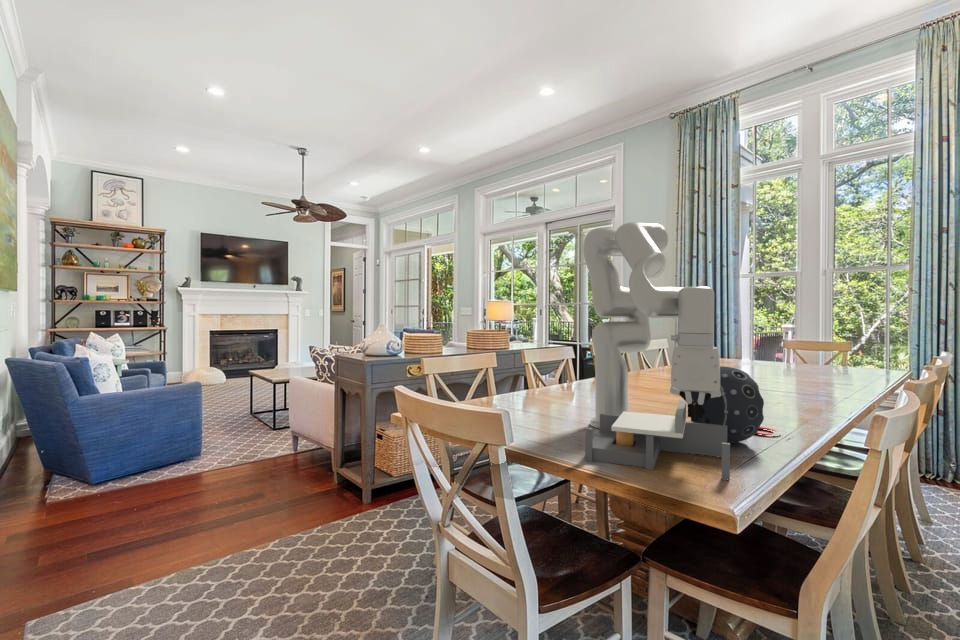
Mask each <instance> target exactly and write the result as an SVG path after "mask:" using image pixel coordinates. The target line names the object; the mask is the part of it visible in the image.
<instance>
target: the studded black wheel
mask: <svg viewBox="0 0 960 640" xmlns="http://www.w3.org/2000/svg"><path fill="white" fill-rule="evenodd" d="M720 391H721V396H720V397H714V398H709V399H708V400H707V401H706V402H704V403H703V404H702V418H699V422H696V421H695V420H694V421H693V422H694V423H705V424H715V425H726V426H727V443H730V444H733V443H739V442H743V441H747V440H749V439H750V438H752V437H754V436H756V435H755V434H756V433H757V432H759V430H758V429H759V427H760V426H761V425H762V424H763V421H764V419H765V416H764V405H765V403H764V398H763V396H762V395H761V393H760V386H759V384H758V382H756V381H755V379H753V378H752V377H751V376H750V374H749V373H747V372H746V371H743V370H741V369H739V368H735V367H731V366H724V365H723V366H721V365H720ZM705 393H706V392H705ZM691 394H692V399H693V400H694V403H696V400H698V396H699V392H694V391H691Z"/></svg>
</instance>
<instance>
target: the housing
mask: <svg viewBox="0 0 960 640" xmlns="http://www.w3.org/2000/svg"><path fill="white" fill-rule="evenodd" d="M618 418H619V415H609V414H600V429H599V432H598V433H597V434H596V435H595V436H594V427H586V428H585V429H584V430H585V439H584V440H585V443H584V444H585V451H584V452H585V454H584V455H585V458H584V459H585V461H586V462H590V463H591V462H593V461H595V462H603V463H609V464H610V463H611V464H617V465H622V464H623V465H624V466H630V465H631V467H637V466H638V467H639V468H644V467H645V470H648V471H654V469H655V466H656V463H657V460H658V457H659V454H660V451H662V450H663V451H664V452H672V453H679V452H680V453H679V454H687V453H690V454H689V455H695V454H701V455H700V456H704V455H709V456H708V457H712V456H719V457H718V458H720V457H722V458H721V480H722V479H728V480H730V481H731V478H730V477H731V461H730V460H731V443H727V426H726V425H715V424H705V423H694V422H691V421H686V424H685V429H684V434H683V438H674V437H665V436H656V435H647V434H637V433H634V438H633V447H632V446H623V445H616V434H617V431H611V426H612V425H613V424H614V423H615V421H616V420H617V419H618ZM623 465H622V466H623ZM638 467H637V468H638Z"/></svg>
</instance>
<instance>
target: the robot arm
mask: <svg viewBox="0 0 960 640" xmlns="http://www.w3.org/2000/svg"><path fill="white" fill-rule="evenodd" d="M668 242H669V235H668V232H667V230H666V229H665V227H664V226H663V225H661V224H659V223H655V222H637V221H635V222H633V221H632V222H626V223H623V224H621V225H620V226H619V227H609V226H608V227H606V226H605V227H603V226H602V227H596V228H593V229H591V230H589V231H588V232H587V233H586V235H585V237H584V241H583V247H582V248H583V250H582V251H583V252H582V253H583V257H584V258H583V259H584V261H585V265H586V267H587V271H588V274H589V278H590V287H591V294H592V295H591V296H592V304H593V310H594V312H595V314H596V315H597V316H598V317H600V318H607V319H608V318H609V319H611V318H612V319H613V318H614V319H615V318H617V319H618V318H619V319H620V318H623V319H625V321H622V320H620V321H619V320H617V321H602V322H601V323H598V324H596V325H595V326H594V328H593V330H592V333H591V340H592V347H593V351H594V361H595V368H594V369H595V370H594V371H595V372H594V373H595V376H594V377H595V378H594V379H595V384H594V385H595V391H594V392H595V400H594V401H595V403H594V404H595V411H594V412H595V415H594V416H595V417H594V418H591V419H590V421H589V424H590V426H591V427H592V428H596V429H599V430H600V414H609V415H619V416H620V415H621V414H622V413H623V411H625V412H629V368H628V364H627V363H626V361H625V359H624V357H623V356H622V354H624V353H625V354H626V353H627V354H628V353H629V354H630V353H642V352H644V351H646V350H647V349H648V348H649V346H650V343H651V340H652V339H651V336H652V335H651V328H650V321H649V319H650V318H651V319H677V333H676V334H674V335H673V334H672V335H670V341H671V342H676V343H677V345H675V346H673V350H672V354H671V355H672V356H671V368H670V389H669V393H670V394H673V395H676V396H680V397H681V399H683V401H686V404H687V417H688V418H690V422H693V421H694V420H695V421H696V422H699V418H702V404H703V403H704V402H706V401H707V400H708V399H709V398H714V397H720V396H721V391H720V366H721V364H720V363H721V362H720V355H719V354H720V353H719V349H718V348H719V347H717V346H715V290H714V289H713V288H711V287H710V286H682V287H681V286H680V287H679V286H654V285H652V283H651V282H650V280H649V279H648V278H650V277H653V276H654V275H656V274H657V273H658V272H659V271H661V269H662V267H663V266H664V263H665V256H664V254H663V253H662V252H663V251H664V250H665V249H666V248H667V246H668ZM608 257H623V258H624V259H625V261H626V262H627V264H628V265H629V267H630V269H631V272H630V275H629V278H628V286H622V285H621V283H620V277H619V276H620V275H619V271H618V269H617V268H616V266H615V265H614V263H613V262H612V261H611V259H609V258H608ZM691 391H694V392H699V396H698V400H696V403H694V400H693V399H692V394H691ZM705 392H706V393H705Z"/></svg>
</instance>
